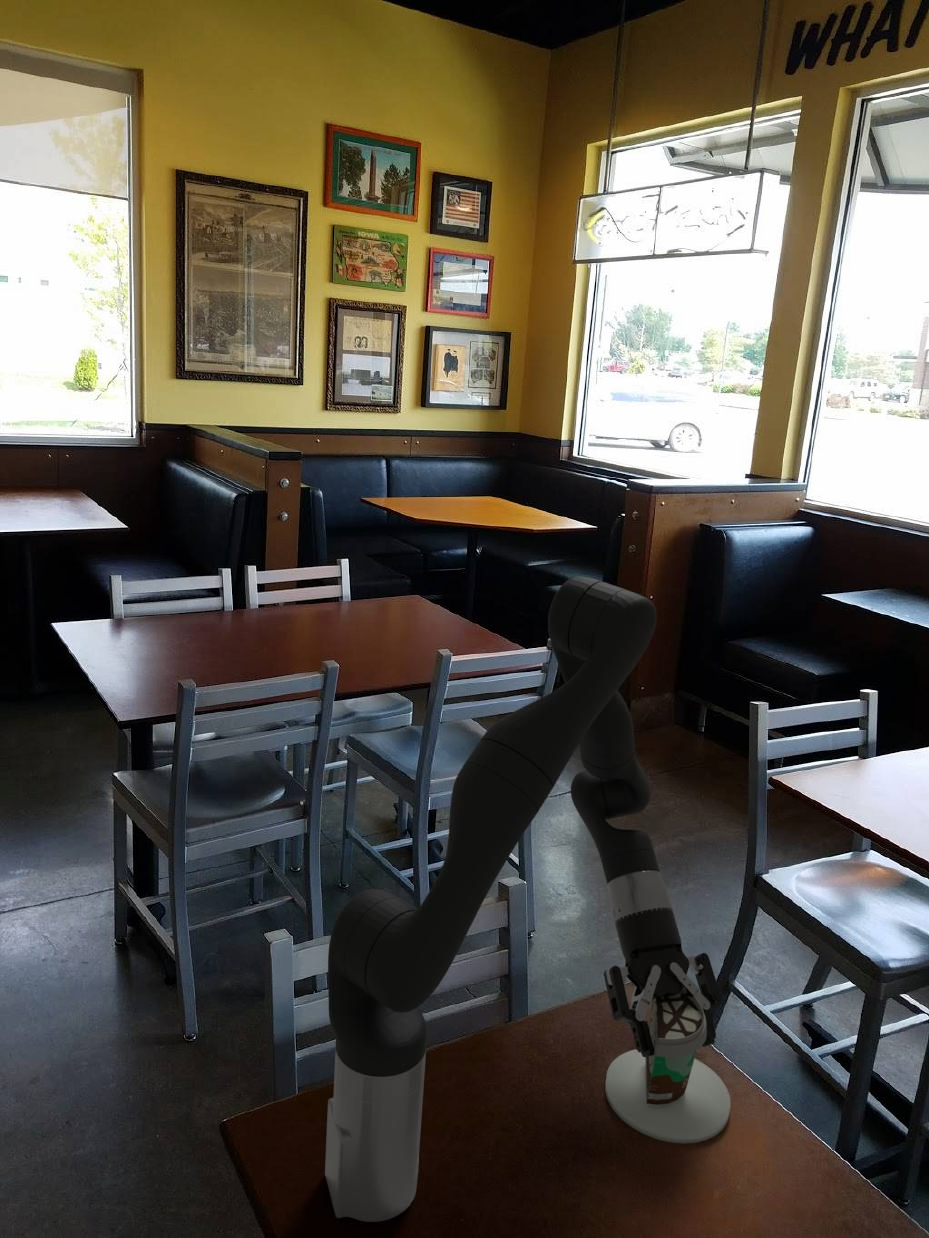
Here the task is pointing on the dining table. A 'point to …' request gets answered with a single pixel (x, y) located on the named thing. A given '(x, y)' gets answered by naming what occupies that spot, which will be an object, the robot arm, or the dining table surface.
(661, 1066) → the food container
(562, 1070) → the dining table surface
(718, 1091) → the serving plate
